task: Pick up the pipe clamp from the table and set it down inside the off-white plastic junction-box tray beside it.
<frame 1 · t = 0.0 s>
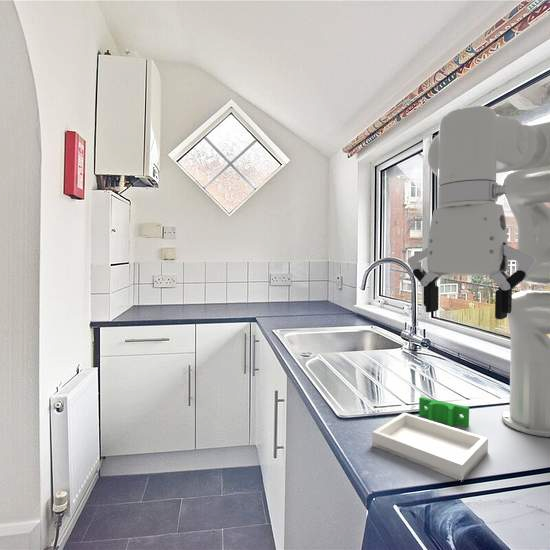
hand: (464, 314, 56), 31 cm above the table, tool pointing down, fingers open, 9 cm apart
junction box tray: (428, 449, 78), on the table
pipe clamp: (441, 422, 91), on the table
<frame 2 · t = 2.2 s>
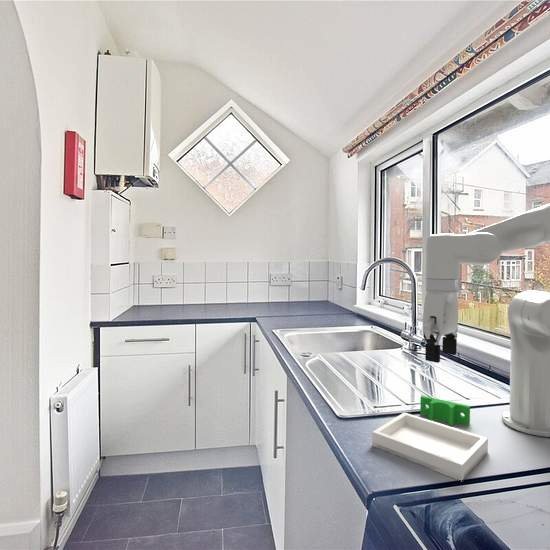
hand: (441, 357, 90), 16 cm above the table, tool pointing down, fingers open, 9 cm apart
nothing on the table moved.
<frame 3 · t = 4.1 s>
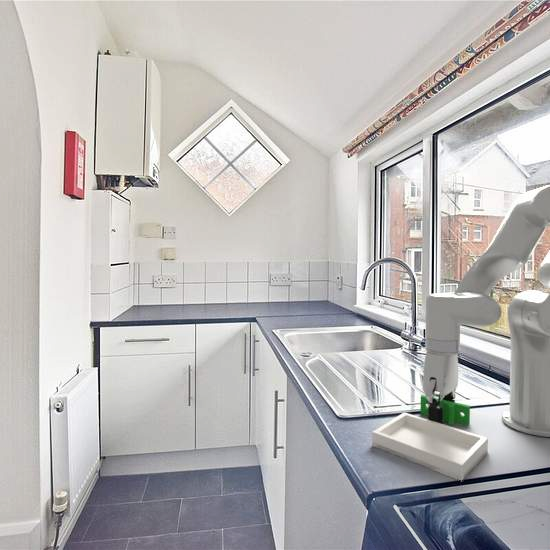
hand: (441, 418, 91), 1 cm above the table, tool pointing down, fingers open, 6 cm apart
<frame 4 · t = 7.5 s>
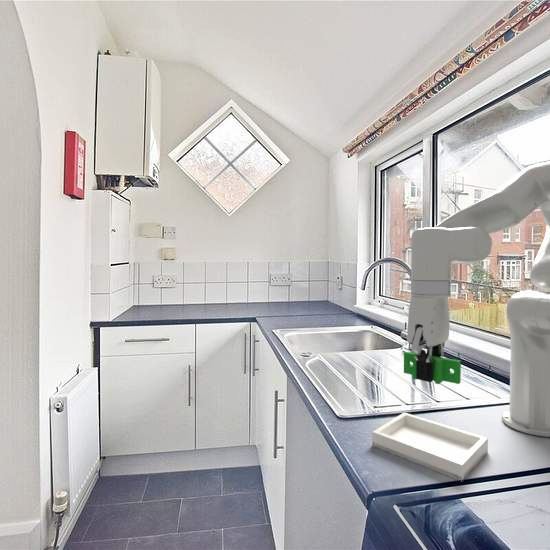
hand: (429, 376, 77), 15 cm above the table, tool pointing down, fingers closed on pipe clamp, 4 cm apart
pipe clamp: (428, 379, 77), point 14 cm above the table, touching gripper
when the fingers open (3 cm above the table, at t = 10.5 s): pipe clamp drops 1 cm, resting on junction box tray.
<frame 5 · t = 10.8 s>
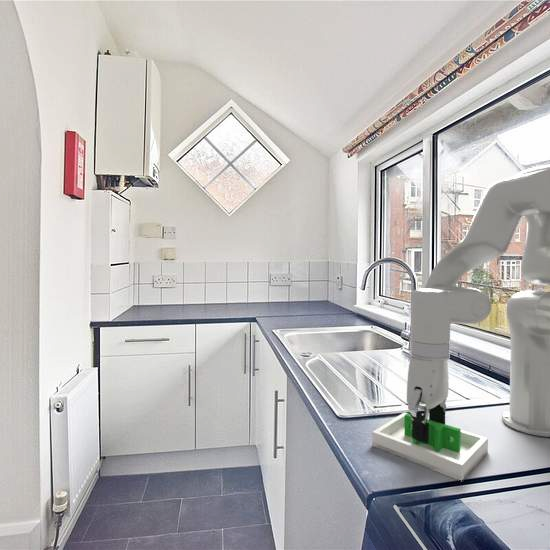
hand: (428, 433, 78), 3 cm above the table, tool pointing down, fingers open, 7 cm apart
pipe clamp: (428, 445, 78), point 1 cm above the table, touching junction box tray
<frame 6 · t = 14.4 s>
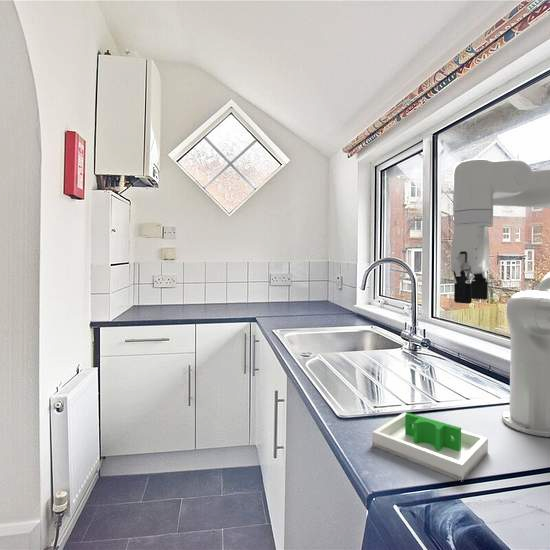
hand: (471, 300, 80), 30 cm above the table, tool pointing down, fingers open, 9 cm apart
nothing on the table moved.
at the end: pipe clamp inside the target area on the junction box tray (0.9 cm from its centre), point 0.6 cm above the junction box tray's base; the gripper is holding nothing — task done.
